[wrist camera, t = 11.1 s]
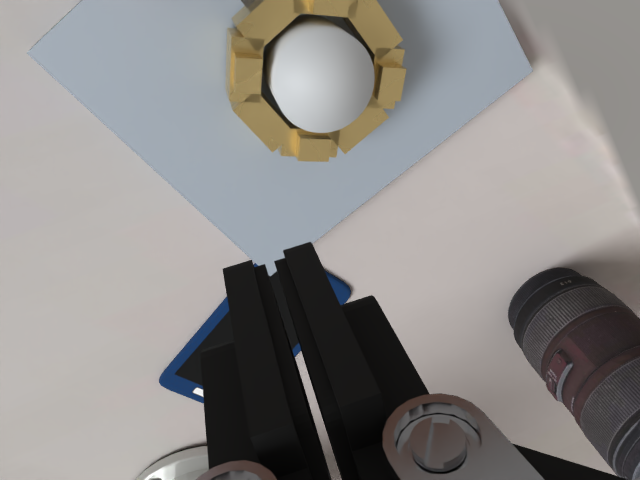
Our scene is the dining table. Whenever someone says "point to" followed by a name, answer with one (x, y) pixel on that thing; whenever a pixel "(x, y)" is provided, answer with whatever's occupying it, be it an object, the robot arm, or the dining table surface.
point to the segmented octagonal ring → (247, 61)
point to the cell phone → (217, 330)
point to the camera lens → (585, 358)
